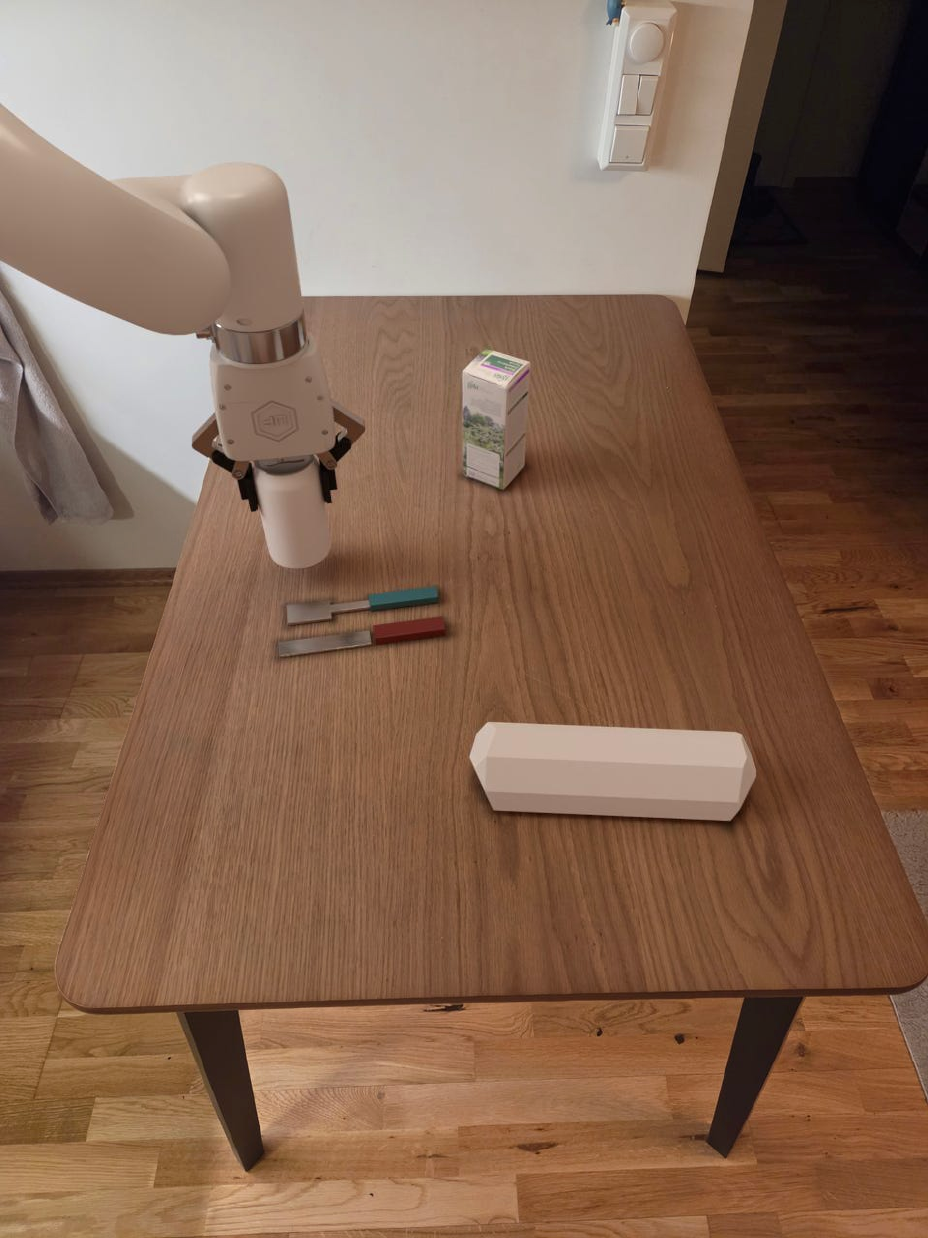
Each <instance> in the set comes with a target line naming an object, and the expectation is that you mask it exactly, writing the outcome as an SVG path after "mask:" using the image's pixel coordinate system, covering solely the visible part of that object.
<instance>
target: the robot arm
mask: <svg viewBox="0 0 928 1238" xmlns="http://www.w3.org/2000/svg"><path fill="white" fill-rule="evenodd" d="M0 262H2V263H3V264H6V265H7V266H9V267H11V268H13V269H15V270H17V271H18V272H20V273H22V274H24V275H25V276H28V277H30V278H31V279H33V280H35V281H36V282H38V283H40V284H42V285H45V286H47V287H48V288H51V289H52V290H54V291H56V292H57V293H61V294H62V295H65V296H66V297H69V298H71V299H73V300H75V301H77V302H80V303H82V304H84V305H86V306H89V307H91V308H94V309H96V310H98V311H100V312H104V313H106V314H109V315H110V316H112V317H115V318H118V319H120V320H122V321H125V322H128V323H129V324H132V325H134V326H137V327H140V328H141V329H144V330H147V331H149V332H153V333H156V334H160V335H167V336H187V335H188V336H189V335H192V334H195V337H196V339H197V340H201V339H206V341H210V340H211V342H212V345H211V347H210V351H209V378H210V388H211V395H212V402H213V408H214V412H213V413H212V414H211V416H209V417H208V418H207V420H205V422H204V423H203V424H202V425H200V427H199V428H198V429H197V430H196V432H194V434H193V435H192V436H191V448H192V449H193V450H194V451H196V452H198V453H199V454H201V455H203V456H204V457H206V458H207V459H208V458H209V459H210V460H211V461H212V463H213V464H214V465H217V466H218V467H219V468H222V469H223V470H226V471H227V472H228V473H230V474H231V476H232V478H233V479H234V480H236V482H237V486H238V491H239V495H240V499H241V501H247V502H248V506H249V509H250V512H251V513H253V512H257V511H258V510H259V506H258V501H257V496H256V491H255V487H254V482H253V475H252V471H253V467H254V466H253V463H252V462H254V461H257V460H268V459H278V458H287V457H296V456H306V455H314V456H316V458H318V462H319V466H320V474H321V481H322V488H323V495H324V502H325V503H326V504H333V500H332V491H337V490H338V482H337V474H336V469H337V467H338V462H339V461H340V460H341V459H342V458H343V457H344V456H345V455H347V453H348V452H349V451H350V450H351V449H352V445H353V444H354V443H356V442H357V441H358V440H359V439H360V438H361V437H362V435H363V434H364V433H365V432H366V423H365V420H364V419H363V418H362V417H361V416H359V415H357V414H356V413H354V412H353V411H351V410H349V409H348V408H347V407H346V406H343V405H342V404H341V403H339V402H337V401H336V400H335V399H333V398H332V397H331V392H330V387H329V386H330V385H329V381H328V376H327V372H326V368H325V363H324V361H323V357H322V354H321V351H320V349H319V346H318V343H317V340H316V338H315V336H314V334H313V333H311V331H308V330H307V322H306V317H305V315H306V314H305V308H304V303H303V296H302V295H303V294H302V289H301V281H300V274H299V266H298V258H297V252H296V244H295V236H294V229H293V222H292V215H291V208H290V200H289V195H288V191H287V188H286V185H285V183H284V181H283V179H282V178H281V177H280V176H279V175H278V173H276V171H274V170H273V169H271V168H270V167H267V166H265V165H261V164H258V163H251V162H242V161H241V162H238V161H237V162H235V161H234V162H226V163H224V162H223V163H220V164H215V165H212V166H209V167H205V168H203V169H202V170H201V169H200V170H199V171H197V172H196V173H193V174H183V175H168V176H141V177H139V176H138V177H123V178H117V179H111V180H108V179H106V178H105V177H103V176H102V175H100V174H98V173H97V172H95V171H93V170H92V169H90V168H89V167H87V166H85V165H84V164H82V163H81V162H79V161H77V160H76V159H74V158H73V157H72V156H71V155H68V154H67V153H66V152H64V151H63V150H61V149H60V148H58V147H57V146H55V145H54V144H52V143H51V142H50V141H48V140H47V139H46V138H44V137H43V136H42V135H40V134H39V133H38V132H36V131H35V130H34V129H32V128H31V127H30V126H29V125H27V124H26V123H25V122H23V120H21V119H20V118H18V116H16V115H15V114H14V113H13V112H11V111H10V110H9V109H8V108H7V107H6V106H5V105H3V104H2V103H1V102H0ZM335 423H336V424H338V425H340V426H341V427H342V428H343V430H342V431H339V432H337V434H336V424H335ZM218 436H219V439H220V443H217V442H216V441H215V440H216V438H217V437H218Z"/></svg>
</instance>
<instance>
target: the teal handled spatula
mask: <svg viewBox="0 0 928 1238" xmlns="http://www.w3.org/2000/svg"><path fill="white" fill-rule="evenodd" d="M437 603H439V594H438V590H437V586H436V585H434V586H425V587H416V588H409V589H401V590H394V591H386V592H377V593H370V594H368V599H366V600H358V601H351V602H343V603H335V604H331V600H330V598H329V599H322V600H314V601H313V600H312V601H306V602H298V603H291V604H286V615H287V616H286V617H287V626H294V625H295V626H296V625H305V624H310V623H312V624H313V623H318V622H326V621H332V620H333V617H332V615H336V614H344V613H351V612H352V613H353V612H360V611H366V610H367V611H368V610H370V612H375V611H376V612H377V611H384V610H390V609H398V608H406V607H414V606H421V605H422V606H423V605H430V604H437Z"/></svg>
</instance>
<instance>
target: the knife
mask: <svg viewBox="0 0 928 1238" xmlns="http://www.w3.org/2000/svg"><path fill="white" fill-rule="evenodd" d="M372 628H373V634H374V635H373V636H374V641H375V642H374V643H375V645H376V646H377V645H383V644H390V643H392V644H393V643H399V642H406V641H414V640H421V639H429V638H436V637H444V636H446V624H445V621H444V616H443V615H441V616H433V617H426V618H417V619H410V620H402V621H396V622H387V623H386V622H385V623H379V624H373V625H372ZM372 645H373V644H372V637H371V630H370V629H369V630H362V631H354V632H346V633H339V634H330V635H325V636H323V635H322V636H316V637H309V638H301V639H300V638H299V639H293V640H285V641H279V642H278V657H279V658H287V657H296V656H305V655H311V654H318V653H327V652H333V651H340V650H348V649H355V648H364V647H371V646H372Z"/></svg>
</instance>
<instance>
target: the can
mask: <svg viewBox="0 0 928 1238" xmlns="http://www.w3.org/2000/svg"><path fill="white" fill-rule="evenodd" d="M253 463H254V464H253V466H252V467H253V471H252V475H253V482H254V487H255V491H256V496H257V501H258V510H259V515H260V519H261V523H262V528H263V533H264V537H265V541H266V546H267V550H268V554H269V556H270V558H271V560H272V561H273V562H274V563H275V564H277V565H279V566H280V567H282V568H285V569H289V570H306V569H310V568H312V567H315V566H317V565H318V564H320V563H321V562H322V561H324V560H325V559H326V557H327V556H328V555H329V554H330V551H331V548H332V547H331V546H332V542H331V534H330V533H331V532H330V527H329V525H330V524H329V519H328V513H327V512H328V511H327V505H326V504H327V503H326V502H324V495H323V488H322V481H321V474H320V466H319V460H318V459H317V457H316V455H315V454H314V455H306V456H296V457H287V458H278V459H268V460H257V461H253Z"/></svg>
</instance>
